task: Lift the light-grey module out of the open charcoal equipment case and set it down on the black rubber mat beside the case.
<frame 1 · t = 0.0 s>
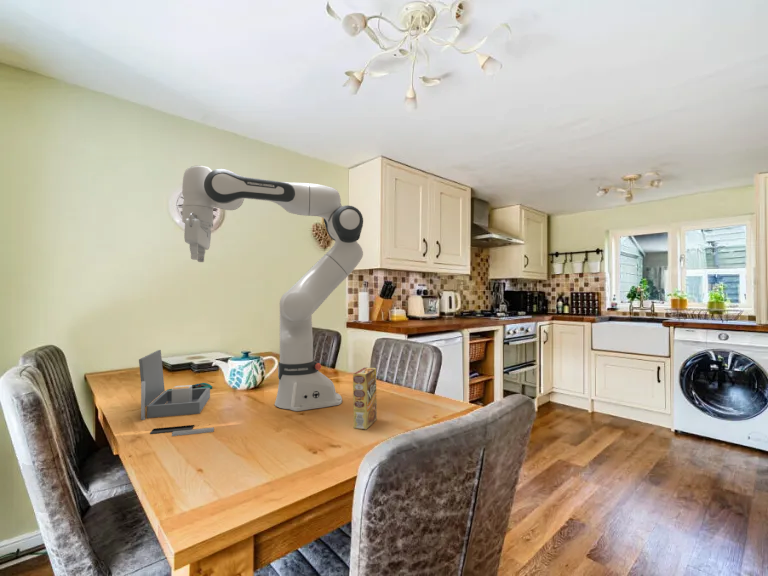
hand: (197, 260, 118), 48 cm above the table, tool pointing down, fingers open, 8 cm apart
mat: (175, 425, 105), on the table
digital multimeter: (189, 395, 138), on the table
module: (182, 405, 119), point 1 cm above the table, touching case
lid: (152, 376, 116), point 11 cm above the table, hinge at 95.0°
case: (181, 410, 118), on the table
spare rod: (193, 434, 99), on the table
candy box: (365, 424, 106), on the table
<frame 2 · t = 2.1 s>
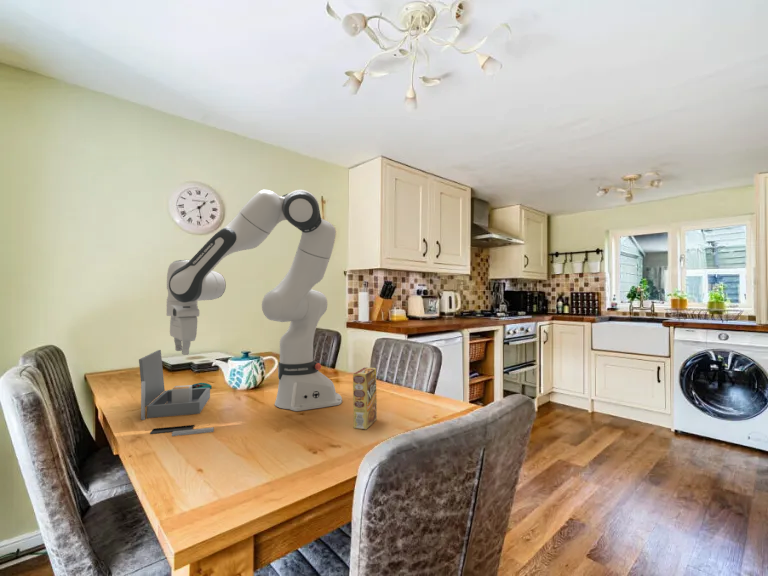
hand: (181, 352, 120), 18 cm above the table, tool pointing down, fingers open, 8 cm apart
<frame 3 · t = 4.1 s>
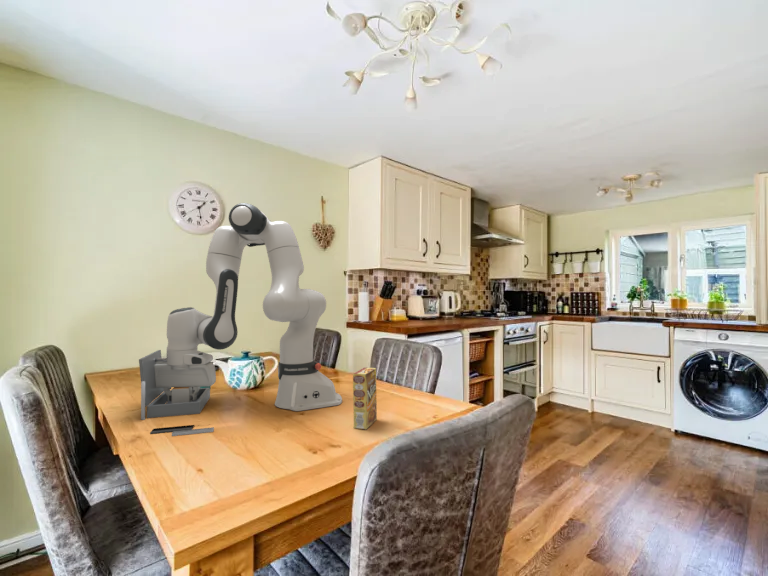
hand: (182, 400, 120), 3 cm above the table, tool pointing down, fingers closed on module, 5 cm apart
module: (182, 405, 119), point 1 cm above the table, touching case, gripper
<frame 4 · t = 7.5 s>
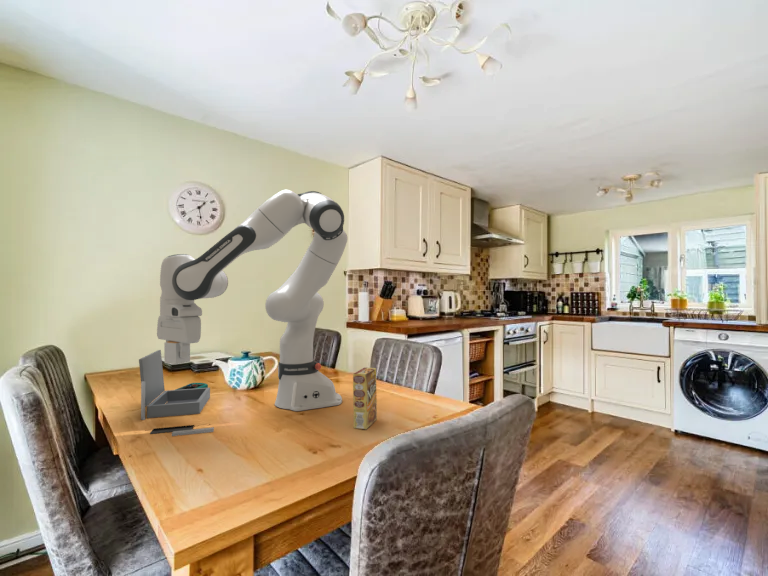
hand: (177, 356, 108), 19 cm above the table, tool pointing down, fingers closed on module, 5 cm apart
module: (177, 362, 108), point 17 cm above the table, touching gripper
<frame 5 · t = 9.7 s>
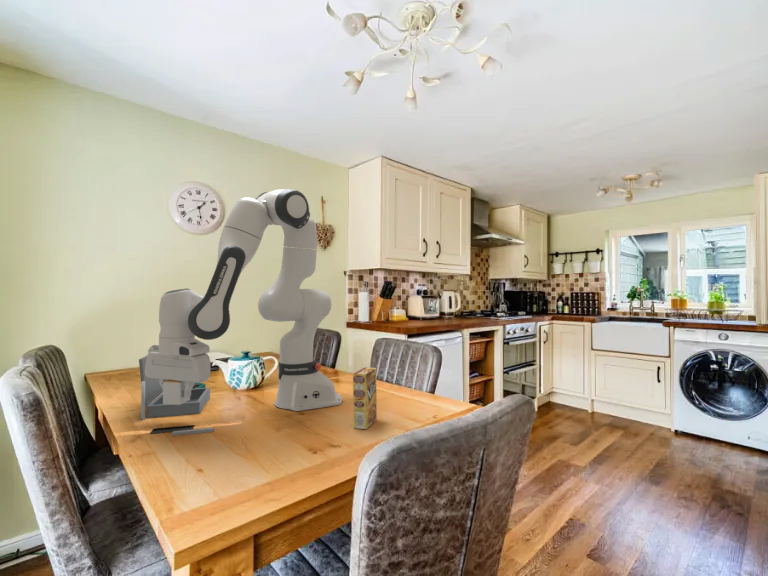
hand: (176, 395, 103), 9 cm above the table, tool pointing down, fingers closed on module, 5 cm apart
module: (176, 401, 104), point 7 cm above the table, touching gripper
when the fingers open (4 cm above the table, at t = 11.2 s): module drops 2 cm, resting on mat.
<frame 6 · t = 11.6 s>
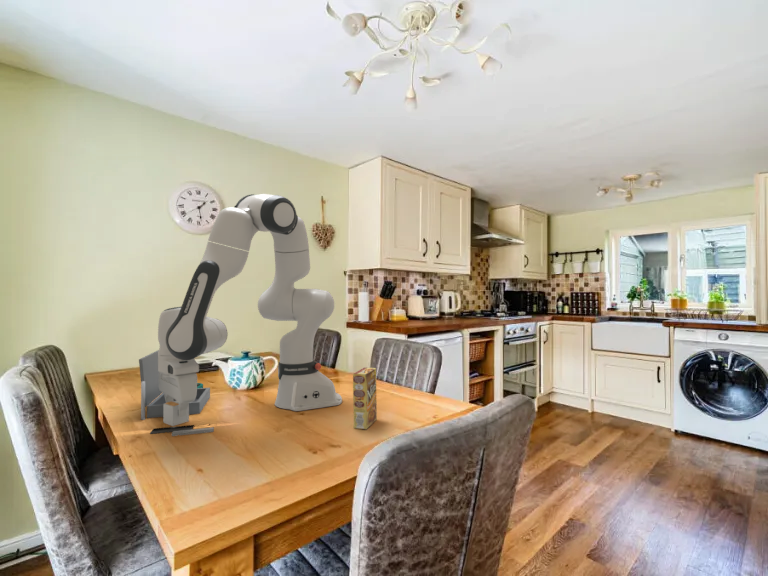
hand: (176, 412, 105), 4 cm above the table, tool pointing down, fingers open, 8 cm apart
module: (176, 424, 105), resting on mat
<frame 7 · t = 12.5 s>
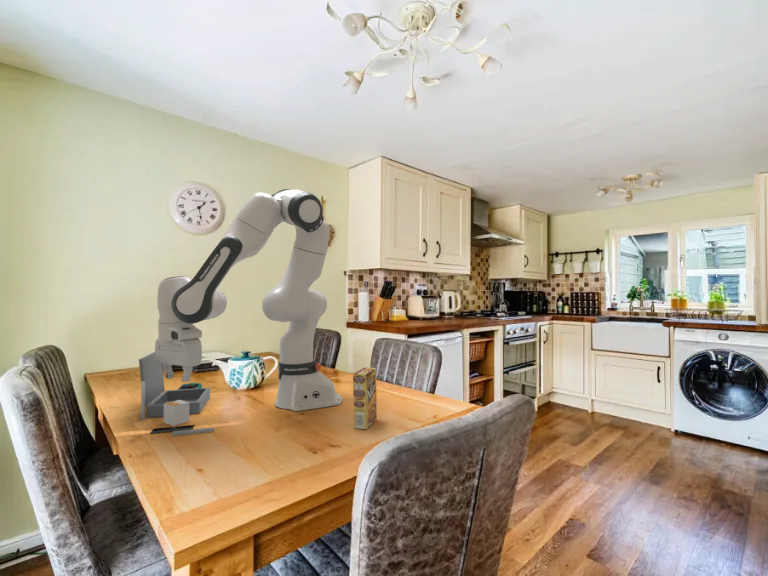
hand: (177, 379, 107), 12 cm above the table, tool pointing down, fingers open, 8 cm apart
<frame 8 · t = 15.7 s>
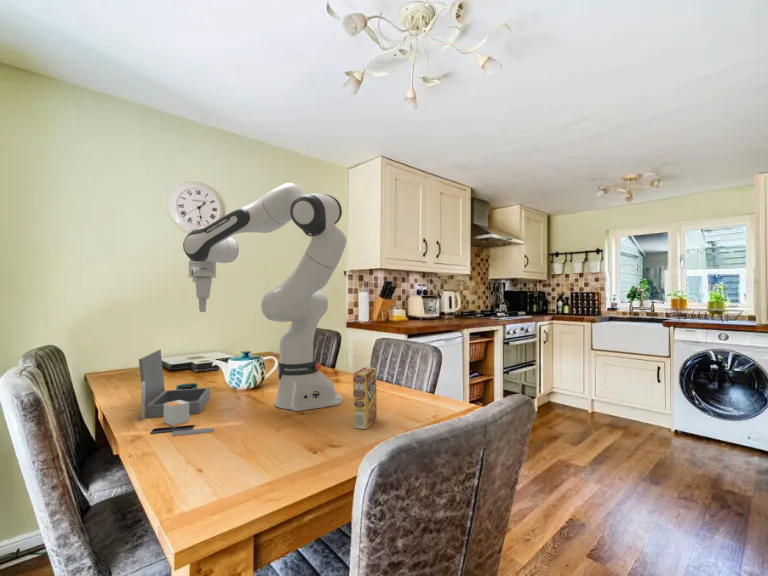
hand: (202, 311, 131), 31 cm above the table, tool pointing down, fingers open, 8 cm apart
at the end: module inside the target area on the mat (0.2 cm from its centre), point 0.4 cm above the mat's base; module tilted 0°; the gripper is holding nothing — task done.
